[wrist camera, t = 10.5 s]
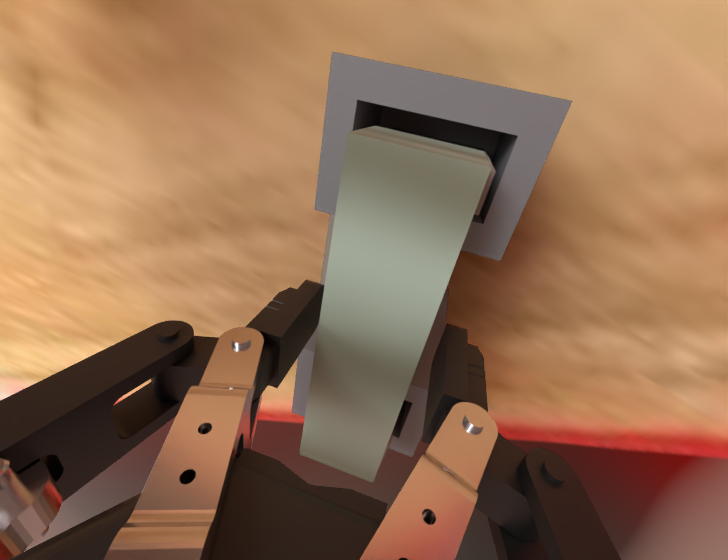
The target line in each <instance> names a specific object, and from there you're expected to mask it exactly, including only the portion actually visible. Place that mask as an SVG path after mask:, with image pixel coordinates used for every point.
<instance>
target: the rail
mask: <svg viewBox="0 0 728 560" xmlns="http://www.w3.org/2000/svg"><path fill="white" fill-rule="evenodd" d="M495 172H496V171H495V169H494V167H493V165H492V163H491V160H490V158H489V156H488V154H487V152H486V150H485V149H483V148H478V147H474V146H470V145H466V144H461V143H457V142H453V141H449V140H445V139H440V138H436V137H432V136H428V135H423V134H419V133H415V132H411V131H406V130H402V129H398V128H394V127H389V126H383V127H379V126H372V127H368V128H363V129H359V130H355V131H351V132H347V139H346V145H345V152H344V159H343V165H342V172H341V179H340V186H339V192H338V199H337V206H336V212H335V219H334V226H333V232H332V239H331V246H330V252H329V259H328V266H327V273H326V279H325V286H324V293H323V299H322V306H321V313H320V319H319V326H318V333H317V340H316V346H315V353H314V360H313V366H312V373H311V380H310V386H309V393H308V400H307V406H306V413H305V420H304V427H303V433H302V440H301V447H300V455H303V456H306V457H308V458H311V459H313V460H316V461H318V462H321V463H323V464H326V465H329V466H331V467H334V468H336V469H339V470H341V471H344V472H346V473H349V474H352V475H354V476H357V477H359V478H362V479H364V480H367V481H370V482H372V483H373V482H374V479H375V476H376V473H377V471H378V468H379V466H380V463H381V460H382V461H384V460H385V458H386V455H387V453H388V450H389V447H390V444H391V439H392V435H393V430H394V426H395V423H396V420H397V418H398V415H399V413H400V410H401V407H402V405H403V402H404V399H405V397H406V394H407V391H408V389H409V386H410V383H411V381H412V378H413V375H414V373H415V370H416V367H417V365H418V362H419V359H420V357H421V354H422V351H423V349H424V346H425V343H426V341H427V338H428V335H429V333H430V330H431V327H432V325H433V322H434V320H435V317H436V314H437V312H438V309H439V306H440V304H441V301H442V298H443V296H444V293H445V290H446V288H447V285H448V282H449V280H450V277H451V274H452V272H453V269H454V266H455V264H456V261H457V258H458V256H459V253H460V250H461V248H462V245H463V242H464V240H465V237H466V234H467V232H468V229H469V227H470V224H471V221H472V219H473V216H474V214H475V215H479V213H480V211H481V208H482V206H483V203H484V200H485V198H486V195H487V193H488V190H489V187H490V185H491V182H492V180H493V177H494V174H495Z"/></svg>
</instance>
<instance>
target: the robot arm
mask: <svg viewBox="0 0 728 560" xmlns="http://www.w3.org/2000/svg"><path fill="white" fill-rule="evenodd" d="M323 293H324V285H322V284H319V283H316V282H313V281H309V280H305V281H304V282H303V284H302V285H301V286H300V287H299V288H298V289H294V288H291V287H290V288H288V289H286V290H284V291H281V292H279V293H278V294H277V295H276V296H275V297H274V299H273V300H272V301H271V302H270V303H269V304H268V305H267V306H266V307H265V308H264V309H263V310H262V311H261V312H260V313H259V314H258V315H257V316H256V317H255V318H254V319H253V320H252V321H251V322H250V323H249V324H248V325H247V326H246V327H238V328H233V329H230V330H228V331H226V332H225V333H223V334H222V335H221V336H220V338H215V337H202V336H194V331H193V328H192V327H191V325H189V324H188V323H186V322H183V321H165V322H161V323H158V324H155V325H153V326H151V327H149V328H147V329H145V330H143V331H141V332H139V333H137V334H135V335H133V336H131V337H129V338H127V339H125V340H123V341H121V342H119V343H117V344H115V345H113V346H111V347H109V348H107V349H105V350H103V351H100V352H98V353H96V354H94V355H92V356H90V357H88V358H86V359H84V360H82V361H80V362H78V363H76V364H74V365H72V366H70V367H68V368H66V369H64V370H62V371H60V372H58V373H56V374H54V375H52V376H50V377H48V378H46V379H44V380H42V381H40V382H38V383H36V384H34V385H32V386H29V387H27V388H25V389H23V390H21V391H19V392H17V393H15V394H13V395H11V396H9V397H7V398H5V399H3V400H1V401H0V560H455V557H456V554H457V552H458V549H459V546H460V544H461V541H462V538H463V536H464V533H465V530H466V528H467V525H468V522H469V520H470V517H471V514H472V512H473V509H474V506H475V507H477V509H479V510H480V511H481V512H483V513H484V514H485V515H487V516H488V521H489V524H490V529H491V533H492V536H493V541H494V544H495V548H496V552H497V555H498V559H499V560H621V559H620V557H619V555H618V553H617V551H616V549H615V547H614V545H613V543H612V541H611V539H610V537H609V536H608V534H607V532H606V530H605V528H604V526H603V524H602V522H601V520H600V518H599V516H598V514H597V512H596V510H595V508H594V507H593V505H592V503H591V501H590V499H589V497H588V495H587V493H586V491H585V489H584V487H583V485H582V483H581V481H580V479H579V478H578V476H577V474H576V472H575V471H574V470H573V468H572V467H571V466H570V465H569V464H568V463H567V462H566V461H565V460H564V459H563V458H562V457H560V456H559V455H557V454H556V453H554V452H552V451H550V450H547V449H544V448H534V449H531V450H530V451H529V452H528V453H527V452H525V451H523V450H522V449H520V448H519V447H517V446H516V445H514V444H512V443H511V442H509V441H508V440H507V439H505V438H504V437H503V436H502V435H501V434H500V433H499V432H498V429H497V425H496V423H495V421H494V419H493V418H492V416H491V415H490V414H489V413H488V407H487V394H486V381H485V370H484V358H483V356H482V354H481V352H480V351H479V349H478V347H477V346H473V345H470V344H467V330H466V329H463V328H460V327H457V326H454V325H450V324H447V325H446V327H445V329H444V332H443V334H442V337H441V339H440V342H439V344H438V347H437V349H436V352H435V355H434V358H433V361H432V365H431V371H430V379H429V387H428V396H427V404H426V412H425V420H424V428H423V436H422V441H423V442H425V443H428V444H430V446H429V447H428V449H427V451H426V452H425V453H424V454H423V455H422V457H421V458H420V460H419V462H418V463H417V465H416V466H415V468H414V470H413V471H412V473H411V475H410V476H409V478H408V480H407V482H406V483H405V485H404V486H403V488H402V490H401V491H400V493H399V495H398V496H397V498H396V500H395V502H394V503H393V505H392V506H391V508H390V510H389V511H388V513H387V515H386V516H385V514H386V508H387V503H384V502H382V501H379V500H377V499H374V498H372V497H369V496H367V495H364V494H361V493H359V492H356V491H354V490H351V489H343V488H334V487H323V486H314V485H310V484H308V483H307V482H305V481H304V480H303V479H301V478H300V477H299V476H297V475H296V474H295V473H294V472H292V471H291V470H290V469H289V468H287V467H286V466H285V465H283V464H282V463H281V462H280V461H278V460H276V459H273V458H271V457H268V456H266V455H263V454H260V453H258V452H255V451H252V450H251V445H252V441H253V436H254V431H255V427H256V422H257V418H258V413H259V408H260V404H261V399H262V393H263V391H264V390H265V388H266V387H267V386H268V385H270V386H273V387H275V388H278V386H279V385H280V383H281V382H282V380H283V379H284V377H285V376H286V374H287V373H288V371H289V370H290V368H291V367H292V365H293V364H294V362H295V361H296V359H297V357H298V356H299V354H300V353H301V351H302V350H303V348H304V347H305V345H306V344H307V342H308V341H309V339H310V338H311V336H312V335H313V333H314V332H315V330H316V328H317V326H318V324H319V319H320V313H321V306H322V299H323ZM149 379H151V381H152V382H150V383H149V384H147V385H146V386H144V387H142V388H141V389H139V390H138V391H136V392H135V393H133V394H131V395H130V396H128V397H127V398H125V399H123V400H122V401H120V402H119V403H117V404H115V405H114V403H115V402H116V401H117V400H118V399H119V398H120V397H122V396H123V395H125V394H127V393H128V392H130V391H131V390H133V389H135V388H136V387H138V386H140V385H141V384H143V383H144V382H146V381H148V380H149ZM113 405H114V406H113ZM176 415H177V416H176ZM175 416H176V418H175V421H174V423H173V425H172V428H171V429H170V432H169V434H168V436H167V438H166V441H165V443H164V445H163V447H162V449H161V451H160V454H159V456H158V458H157V460H156V463H155V465H154V467H153V469H152V471H151V474H150V476H149V478H148V480H147V482H146V484H145V487H144V489H143V491H142V493H140V494H138V495H136V496H134V497H132V498H130V499H128V500H126V501H124V502H122V503H120V504H118V505H116V506H114V507H112V508H110V509H108V510H106V511H104V512H103V513H100V514H98V515H96V516H94V517H92V518H90V519H88V520H86V521H84V522H82V523H80V524H79V525H76V526H75V527H72V528H70V529H69V530H67V531H65V532H63V533H61V534H59V535H57V536H55V537H53V538H51V539H49V540H47V541H45V542H43V543H41V544H39V545H37V546H35V547H33V548H31V549H29V550H27V551H25V550H26V548H27V547H28V546H31V545H33V544H35V543H37V542H38V541H39V540H41V539H42V538H43V537H44V536H45V534H46V533H47V531H48V529H49V525H50V524H51V523H52V521H53V520H54V519H55V517H56V516H57V513H58V512H59V509H60V507H61V504H62V502H63V501H64V500H66V499H67V498H68V497H69V496H71V495H72V494H74V493H75V492H76V491H78V489H80V488H81V487H83V486H84V485H85V484H87V483H88V482H89V481H91V480H92V479H93V478H95V477H96V476H97V475H98V474H100V473H101V472H103V471H104V470H105V469H107V468H108V467H109V466H110V465H112V464H113V463H114V462H116V461H117V460H118V459H120V458H121V457H122V456H124V455H125V454H126V453H128V452H129V451H130V450H132V449H133V448H134V447H136V446H137V445H138V444H139V443H141V442H142V441H143V440H144V439H146V438H147V437H149V436H150V435H151V434H153V433H154V432H155V431H157V430H158V429H159V428H161V427H162V426H163V425H165V424H166V423H167V422H168V421H170V420H171V419H172V418H174V417H175ZM24 551H25V552H24Z"/></svg>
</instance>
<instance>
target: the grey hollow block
mask: <svg viewBox="0 0 728 560" xmlns="http://www.w3.org/2000/svg"><path fill="white" fill-rule="evenodd" d="M571 103H572V101H570V100H565V99H560V98H555V97H550V96H546V95H541V94H536V93H531V92H526V91H521V90H516V89H512V88H507V87H502V86H497V85H492V84H487V83H482V82H477V81H473V80H468V79H463V78H458V77H453V76H448V75H443V74H439V73H434V72H429V71H424V70H419V69H414V68H409V67H404V66H400V65H395V64H390V63H385V62H380V61H375V60H370V59H366V58H361V57H356V56H351V55H346V54H341V53H336V52H332V57H331V66H330V75H329V84H328V93H327V102H326V111H325V120H324V129H323V138H322V147H321V156H320V165H319V174H318V183H317V192H316V201H315V210H318V211H322V212H325V213H329V214H330V219H329V226H328V233H327V241H326V248H325V255H324V262H323V270H322V277H321V284H322V285H324V286H325V279H326V273H327V266H328V259H329V252H330V246H331V239H332V232H333V226H334V219H335V212H336V206H337V199H338V192H339V186H340V179H341V172H342V165H343V159H344V152H345V145H346V139H347V132H351V131H355V130H359V129H363V128H368V127H372V126H379V127H383V126H389V127H394V128H398V129H402V130H406V131H411V132H415V133H419V134H423V135H428V136H432V137H436V138H440V139H445V140H449V141H453V142H457V143H461V144H466V145H470V146H474V147H478V148H483V149H485V150H486V152H487V154H488V156H489V158H490V160H491V163H492V165H493V167H494V169H495V171H496V172H495V174H494V177H493V180H492V182H491V185H490V187H489V190H488V193H487V195H486V198H485V200H484V203H483V206H482V208H481V211H480V213H479V215H475V214H474V216H473V219H472V221H471V224H470V227H469V229H468V232H467V234H466V237H465V240H464V242H463V245H462V248H461V250H462V251H466V252H469V253H473V254H476V255H480V256H484V257H487V258H491V259H494V260H498V261H501V258H502V256H503V254H504V252H505V250H506V247H507V245H508V243H509V241H510V238H511V236H512V234H513V232H514V230H515V227H516V225H517V223H518V221H519V219H520V216H521V214H522V212H523V210H524V207H525V205H526V203H527V201H528V199H529V196H530V194H531V192H532V190H533V187H534V185H535V183H536V181H537V179H538V176H539V174H540V172H541V170H542V167H543V165H544V163H545V161H546V159H547V156H548V154H549V152H550V150H551V147H552V145H553V143H554V141H555V139H556V136H557V134H558V132H559V130H560V127H561V125H562V123H563V121H564V119H565V116H566V114H567V112H568V110H569V107H570V105H571ZM448 293H449V290H448V289H446V290H445V293H444V296H443V298H442V301H441V304H440V306H439V309H438V312H437V314H436V317H435V320H434V322H433V325H432V327H431V330H430V333H429V335H428V338H427V341H426V343H425V346H424V349H423V351H422V354H421V357H420V359H419V362H418V365H417V367H416V370H415V373H414V375H413V378H412V381H411V383H410V386H409V389H408V391H407V394H406V397H405V399H404V402H403V405H402V407H401V410H400V413H399V415H398V418H397V420H396V423H395V426H394V430H393V435H392V439H391V444H390V447H389V449H392V450H395V451H397V452H400V453H403V454H405V455H408V456H411V457H412V456H413V454H414V452H415V450H416V447H417V445H418V443H419V441H420V438H421V436H422V434H423V428H424V420H425V412H426V404H427V396H428V387H429V379H430V371H431V365H432V361H433V358H434V355H435V352H436V349H437V347H438V344H439V342H440V339H441V337H442V334H443V332H444V329H445V327H446V317H447V305H448ZM318 326H319V324H318ZM318 326H317V328H316V330H315V332H314V333H313V335H312V336H311V338H310V339H309V341H308V342H307V344H306V345H305V347H304V348H303V350H302V351H301V353H300V354H299V356H298V362H297V371H296V380H295V388H294V397H293V406H292V413H295V414H298V415H301V416H303V417H305V413H306V406H307V400H308V393H309V386H310V380H311V373H312V366H313V360H314V353H315V346H316V340H317V333H318Z"/></svg>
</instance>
